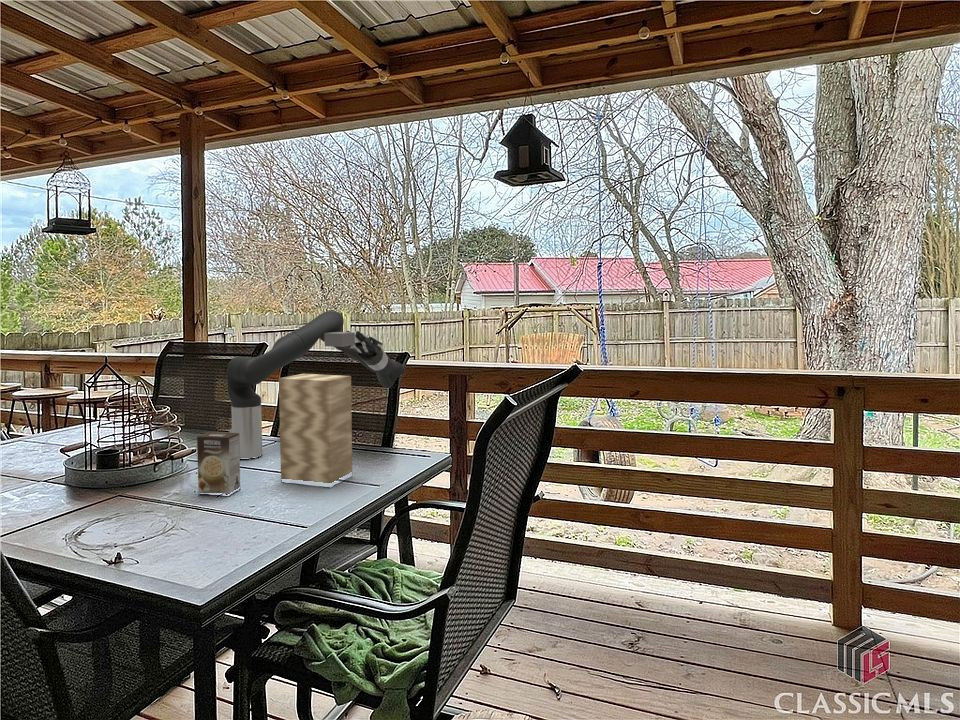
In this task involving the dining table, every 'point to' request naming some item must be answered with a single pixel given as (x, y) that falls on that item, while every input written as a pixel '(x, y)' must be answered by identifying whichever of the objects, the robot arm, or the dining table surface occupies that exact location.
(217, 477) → the coffee box
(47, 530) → the dining table surface
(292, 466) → the pedestal
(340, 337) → the block
